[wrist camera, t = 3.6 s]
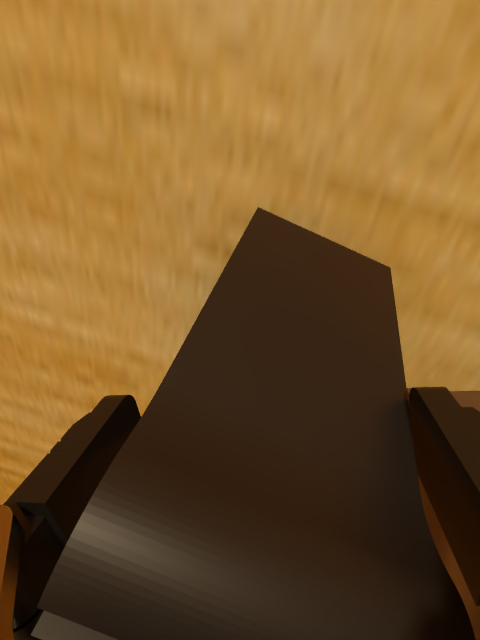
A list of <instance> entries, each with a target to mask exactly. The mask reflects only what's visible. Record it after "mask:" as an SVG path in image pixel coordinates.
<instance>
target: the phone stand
mask: <svg viewBox="0 0 480 640" xmlns="http://www.w3.org/2000/svg"><path fill="white" fill-rule="evenodd" d="M37 608H39V609H42V610H44V611H43V613H42V615H41V617H40V619H39V620H38V622H37V624H36V626H35V628H34V630H33V632H32V633H31V636H34V637H36V638H39V639H42V640H476V639H475V635H474V631H473V628H472V625H471V621H470V618H469V616H468V613H467V610H466V608H465V605H464V603H463V600H462V598H461V596H460V594H459V592H458V590H457V588H456V586H455V584H454V582H453V580H452V579H451V577H450V575H449V573H448V571H447V569H446V567H445V565H444V563H443V561H442V559H441V557H440V555H439V553H438V550H437V548H436V546H435V543H434V541H433V538H432V535H431V532H430V529H429V527H428V523H427V520H426V516H425V513H424V509H423V504H422V499H421V494H420V487H419V480H418V473H417V465H416V458H415V450H414V442H413V435H412V427H411V420H410V412H409V405H408V397H407V390H406V382H405V375H404V367H403V360H402V352H401V345H400V337H399V330H398V322H397V314H396V307H395V299H394V292H393V284H392V277H391V269H390V267H388V266H385V265H383V264H381V263H379V262H377V261H375V260H372V259H370V258H368V257H366V256H364V255H361V254H359V253H357V252H355V251H353V250H351V249H348V248H346V247H344V246H342V245H340V244H337V243H335V242H333V241H331V240H329V239H326V238H324V237H322V236H320V235H318V234H316V233H313V232H311V231H309V230H307V229H305V228H302V227H300V226H298V225H296V224H294V223H291V222H289V221H287V220H285V219H283V218H281V217H278V216H276V215H274V214H272V213H270V212H267V211H265V210H263V209H261V208H259V207H258V208H257V210H256V212H255V214H254V215H253V217H252V219H251V221H250V223H249V225H248V226H247V228H246V230H245V232H244V234H243V235H242V237H241V239H240V241H239V243H238V245H237V246H236V248H235V250H234V252H233V254H232V256H231V257H230V259H229V261H228V263H227V265H226V266H225V268H224V270H223V272H222V274H221V276H220V277H219V279H218V281H217V283H216V285H215V286H214V288H213V290H212V292H211V294H210V296H209V297H208V299H207V301H206V303H205V305H204V307H203V308H202V310H201V312H200V314H199V316H198V317H197V319H196V321H195V323H194V325H193V327H192V328H191V330H190V332H189V334H188V336H187V337H186V339H185V341H184V343H183V345H182V347H181V348H180V350H179V352H178V354H177V356H176V357H175V359H174V361H173V363H172V365H171V367H170V368H169V370H168V372H167V374H166V376H165V378H164V379H163V381H162V383H161V385H160V386H159V388H158V390H157V392H156V394H155V395H154V397H153V399H152V400H151V402H150V404H149V405H148V407H147V409H146V410H145V412H144V414H143V415H142V417H141V419H140V420H139V422H138V423H137V425H136V426H135V428H134V430H133V431H132V433H131V434H130V436H129V437H128V439H127V440H126V442H125V443H124V444H123V446H122V447H121V449H120V450H119V452H118V453H117V455H116V457H115V458H114V460H113V461H112V463H111V465H110V466H109V468H108V470H107V471H106V473H105V475H104V476H103V478H102V480H101V481H100V483H99V485H98V487H97V488H96V490H95V492H94V494H93V495H92V497H91V499H90V501H89V502H88V504H87V506H86V508H85V510H84V512H83V513H82V515H81V517H80V519H79V521H78V523H77V525H76V526H75V528H74V530H73V532H72V534H71V536H70V538H69V540H68V542H67V544H66V546H65V548H64V550H63V552H62V554H61V556H60V558H59V560H58V562H57V564H56V566H55V568H54V570H53V572H52V574H51V576H50V578H49V581H48V583H47V585H46V587H45V589H44V592H43V594H42V596H41V598H40V601H39V603H38V605H37Z"/></svg>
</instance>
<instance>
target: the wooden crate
mask: <svg viewBox="0 0 480 640" xmlns="http://www.w3.org/2000/svg"><path fill="white" fill-rule="evenodd" d="M411 389H412V388H407V397H408V403H409V393H410V390H411ZM450 393H451V394H452V395H453V397H454V398H455V399H456V401H457V402H458V403H459V405H460V406H461V407H473V408H475V409H476V410H478V411H479V412H480V391H458V392H450ZM418 480H419V487H420V494H421V499H422V504H423V509H424V513H425V516H426V520H427V523H428V527H429V529H430V532H431V535H432V538H433V541H434V543H435V546H436V548H437V550H438V553H439V555H440V557H441V559H442V561H443V563H444V565H445V567H446V569H447V571H448V573H449V575H450V577H451V579H452V580H453V582H454V584H455V586H456V588H457V590H458V592H459V594H460V596H461V598H462V600H463V603H464V605H465V608H466V610H467V613H468V616H469V618H470V621H471V625H472V628H473V631H474V635H475V639H476V640H480V606H476V605H475V602H474V600H473V598H472V596H471V593H470V591H469V589H468V587H467V584H466V582H465V580H464V577H463V575H462V573H461V571H460V568H459V566H458V564H457V562H456V559H455V557H454V555H453V553H452V550H451V548H450V546H449V543H448V541H447V539H446V537H445V534H444V532H443V530H442V528H441V525H440V523H439V521H438V518H437V516H436V514H435V512H434V509H433V507H432V505H431V503H430V500H429V498H428V496H427V494H426V491H425V489H424V487H423V484H422V482H421V480H420V478H419V475H418Z"/></svg>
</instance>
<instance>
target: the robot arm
mask: <svg viewBox="0 0 480 640" xmlns="http://www.w3.org/2000/svg"><path fill="white" fill-rule="evenodd" d="M408 405H409V412H410V420H411V427H412V435H413V442H414V450H415V458H416V465H417V473H418V475H419V478H420V480H421V482H422V484H423V487H424V489H425V491H426V494H427V496H428V498H429V500H430V503H431V505H432V507H433V509H434V512H435V514H436V516H437V518H438V521H439V523H440V525H441V528H442V530H443V532H444V534H445V537H446V539H447V541H448V543H449V546H450V548H451V550H452V553H453V555H454V557H455V559H456V562H457V564H458V566H459V568H460V571H461V573H462V575H463V577H464V580H465V582H466V584H467V587H468V589H469V591H470V593H471V596H472V598H473V600H474V602H475V605H476V606H480V412H479V411H478V410H476V409H475V408H473V407H461V406H460V405H459V403H458V402H457V401H456V399H455V398H454V397H453V395H452V394H451V393H450V391H449V390H448V389H447V388H445V387H418V388H412V389H411V390H410V393H409V403H408ZM140 419H141V416H140V413H139V410H138V407H137V404H136V401H135V399H134V397H133V396H131V395H110V396H105V397H104V398H103V399H102V400H101V401H100V402H99V403H98V405H97V406H96V407H95V408H94V409H93V411H92V412H91V413H88V414H87V415H85V416H84V417H83V418H81V419H80V420H79V421H77V422H76V423H75V424H73V425H72V426H71V428H70V429H69V430H68V431H67V432H66V433H65V434H64V436H63V437H62V438H61V441H60V442H57V444H56V445H55V446H54V447H53V448H52V449H51V452H50V454H47V455H46V456H45V457H44V459H43V460H42V461H41V462H40V463H39V464H38V465H37V467H36V468H35V469H34V470H33V471H32V472H31V473H30V475H29V476H28V477H27V478H26V479H25V480H24V481H23V483H22V484H21V485H20V486H19V487H18V488H17V489H16V491H15V492H14V493H13V494H12V495H11V496H10V497H9V499H8V500H7V501H6V502H5V503H4V504H3V505H0V640H42V639H39V638H36V637H34V636H31V633H32V632H33V630H34V628H35V626H36V624H37V622H38V620H39V619H40V617H41V615H42V613H43V611H44V610H42V609H39V608H37V605H38V603H39V601H40V598H41V596H42V594H43V592H44V589H45V587H46V585H47V583H48V581H49V578H50V576H51V574H52V572H53V570H54V568H55V566H56V564H57V562H58V560H59V558H60V556H61V554H62V552H63V550H64V548H65V546H66V544H67V542H68V540H69V538H70V536H71V534H72V532H73V530H74V528H75V526H76V525H77V523H78V521H79V519H80V517H81V515H82V513H83V512H84V510H85V508H86V506H87V504H88V502H89V501H90V499H91V497H92V495H93V494H94V492H95V490H96V488H97V487H98V485H99V483H100V481H101V480H102V478H103V476H104V475H105V473H106V471H107V470H108V468H109V466H110V465H111V463H112V461H113V460H114V458H115V457H116V455H117V453H118V452H119V450H120V449H121V447H122V446H123V444H124V443H125V442H126V440H127V439H128V437H129V436H130V434H131V433H132V431H133V430H134V428H135V426H136V425H137V423H138V422H139V420H140Z"/></svg>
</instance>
